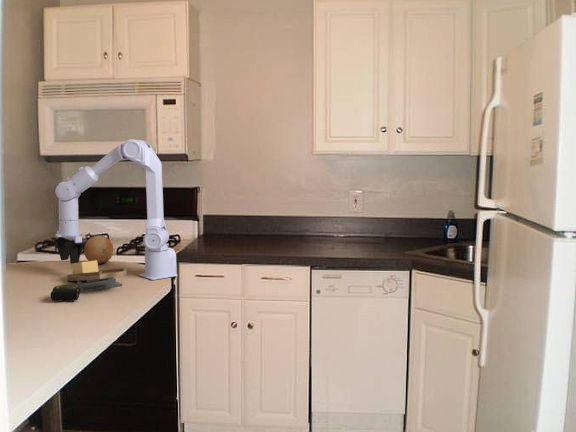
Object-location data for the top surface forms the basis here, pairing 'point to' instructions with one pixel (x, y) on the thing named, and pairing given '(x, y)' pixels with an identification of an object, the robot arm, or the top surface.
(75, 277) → the beam
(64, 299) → the tape measure
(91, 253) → the onion
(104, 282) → the pivot stand
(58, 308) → the top surface
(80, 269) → the block
